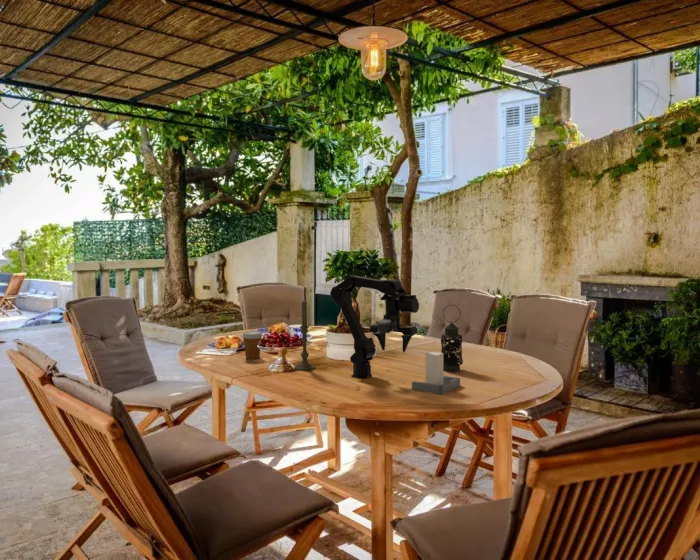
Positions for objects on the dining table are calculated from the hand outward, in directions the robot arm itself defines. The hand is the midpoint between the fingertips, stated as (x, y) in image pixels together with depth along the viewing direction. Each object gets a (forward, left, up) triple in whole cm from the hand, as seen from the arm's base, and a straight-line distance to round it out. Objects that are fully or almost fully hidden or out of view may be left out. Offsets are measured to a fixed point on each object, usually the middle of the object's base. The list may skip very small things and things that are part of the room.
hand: (393, 351), depth 234 cm
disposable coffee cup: (-79, +3, -12) cm, 80 cm away
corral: (+18, 0, -12) cm, 21 cm away
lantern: (+11, +30, -12) cm, 34 cm away
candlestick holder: (-44, -1, -12) cm, 46 cm away
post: (+18, 0, -12) cm, 21 cm away
